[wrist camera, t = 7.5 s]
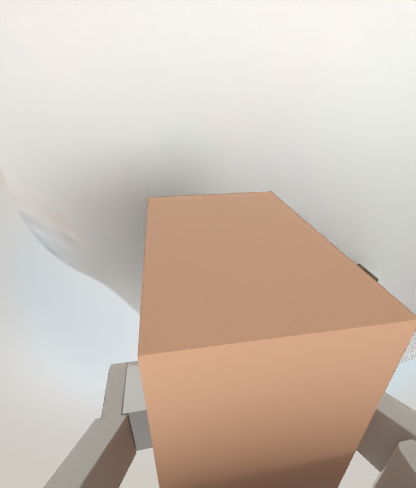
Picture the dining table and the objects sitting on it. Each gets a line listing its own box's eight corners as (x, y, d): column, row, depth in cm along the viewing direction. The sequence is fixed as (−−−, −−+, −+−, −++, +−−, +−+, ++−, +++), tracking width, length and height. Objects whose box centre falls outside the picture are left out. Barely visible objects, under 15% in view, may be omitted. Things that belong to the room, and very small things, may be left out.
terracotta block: (271, 191, 9) (419, 319, 4) (248, 384, 14) (303, 556, 9) (148, 197, 9) (137, 356, 3) (168, 396, 13) (176, 589, 8)
